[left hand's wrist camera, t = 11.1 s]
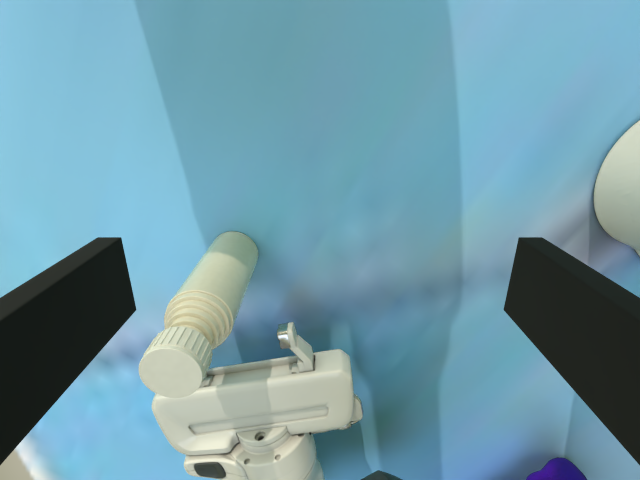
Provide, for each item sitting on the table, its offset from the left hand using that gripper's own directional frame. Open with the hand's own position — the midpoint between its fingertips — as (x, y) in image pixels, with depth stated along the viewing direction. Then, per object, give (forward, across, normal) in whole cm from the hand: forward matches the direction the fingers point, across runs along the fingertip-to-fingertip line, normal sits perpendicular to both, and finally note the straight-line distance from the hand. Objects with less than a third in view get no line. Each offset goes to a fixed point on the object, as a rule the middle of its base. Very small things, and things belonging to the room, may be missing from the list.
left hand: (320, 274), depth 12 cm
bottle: (+24, +9, +10) cm, 28 cm away
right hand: (+18, +8, +15) cm, 25 cm away
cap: (+7, +9, +10) cm, 15 cm away
